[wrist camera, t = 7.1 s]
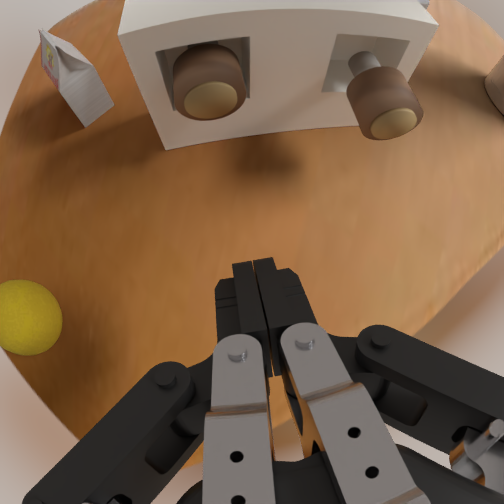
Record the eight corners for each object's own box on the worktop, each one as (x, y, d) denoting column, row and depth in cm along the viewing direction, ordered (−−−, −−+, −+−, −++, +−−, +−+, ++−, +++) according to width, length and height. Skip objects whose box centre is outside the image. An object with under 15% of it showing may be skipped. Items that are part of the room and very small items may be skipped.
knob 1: (234, 61, 21) (232, 18, 17) (247, 118, 20) (247, 72, 15) (177, 70, 21) (167, 28, 17) (181, 129, 19) (167, 85, 15)
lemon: (83, 352, 22) (21, 357, 14) (33, 354, 21) (-30, 355, 14) (76, 284, 23) (16, 264, 15) (28, 291, 23) (-34, 275, 15)
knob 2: (379, 81, 21) (396, 43, 17) (408, 142, 20) (435, 107, 15) (328, 80, 21) (340, 38, 16) (354, 145, 19) (375, 104, 15)
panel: (364, 86, 28) (405, -12, 15) (382, 125, 27) (439, 25, 14) (163, 107, 27) (126, -3, 14) (165, 150, 26) (117, 35, 13)
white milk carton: (90, 78, 28) (56, 16, 18) (114, 105, 27) (77, 34, 17) (64, 98, 28) (24, 40, 18) (85, 128, 26) (39, 62, 17)
